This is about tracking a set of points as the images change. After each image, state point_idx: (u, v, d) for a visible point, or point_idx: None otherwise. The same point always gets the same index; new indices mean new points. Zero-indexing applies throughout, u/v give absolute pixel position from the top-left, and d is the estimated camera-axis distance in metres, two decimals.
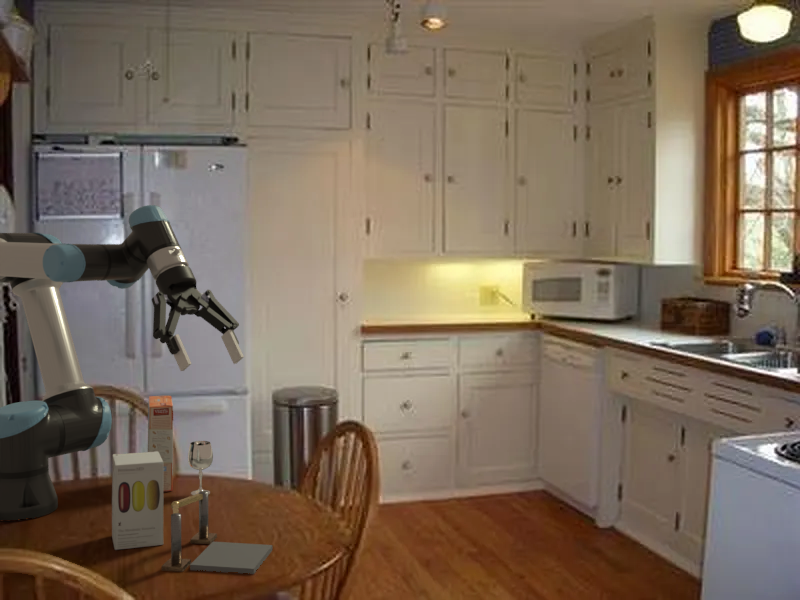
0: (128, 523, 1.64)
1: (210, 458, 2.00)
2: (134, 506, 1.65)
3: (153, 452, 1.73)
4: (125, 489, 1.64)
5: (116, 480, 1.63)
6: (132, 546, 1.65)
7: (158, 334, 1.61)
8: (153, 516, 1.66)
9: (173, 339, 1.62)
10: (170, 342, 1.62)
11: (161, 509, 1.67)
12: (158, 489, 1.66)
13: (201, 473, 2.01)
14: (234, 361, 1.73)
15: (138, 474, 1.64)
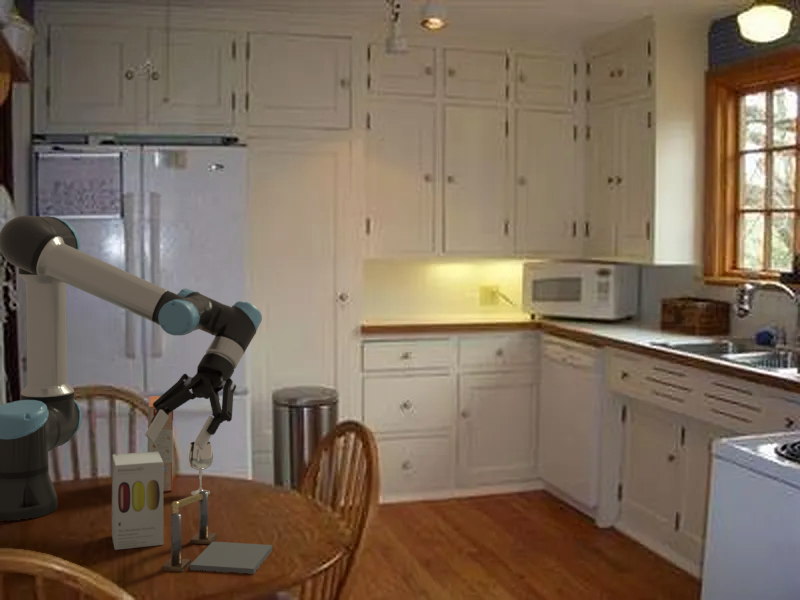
0: (128, 523, 1.64)
1: (210, 458, 2.00)
2: (134, 506, 1.65)
3: (153, 452, 1.73)
4: (125, 489, 1.64)
5: (116, 480, 1.63)
6: (132, 546, 1.65)
7: (228, 418, 1.77)
8: (153, 516, 1.66)
9: None
10: (217, 426, 1.77)
11: (161, 509, 1.67)
12: (158, 489, 1.66)
13: (201, 473, 2.01)
14: (149, 435, 1.80)
15: (138, 474, 1.64)
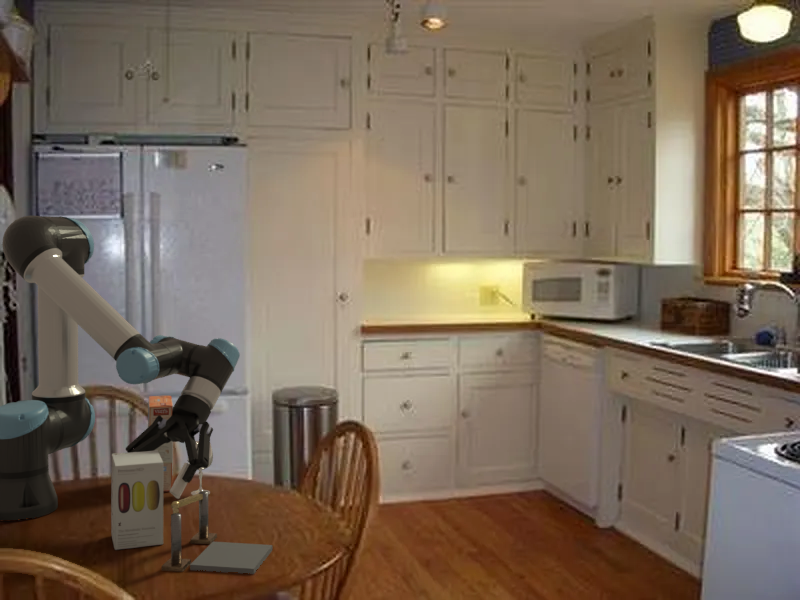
0: (128, 523, 1.64)
1: (210, 458, 2.00)
2: (134, 506, 1.64)
3: (152, 451, 1.73)
4: (125, 490, 1.63)
5: (116, 481, 1.63)
6: (132, 546, 1.65)
7: (205, 464, 1.70)
8: (153, 516, 1.66)
9: None
10: (194, 473, 1.70)
11: (161, 509, 1.66)
12: (158, 489, 1.66)
13: (201, 473, 2.01)
14: None
15: (138, 474, 1.64)
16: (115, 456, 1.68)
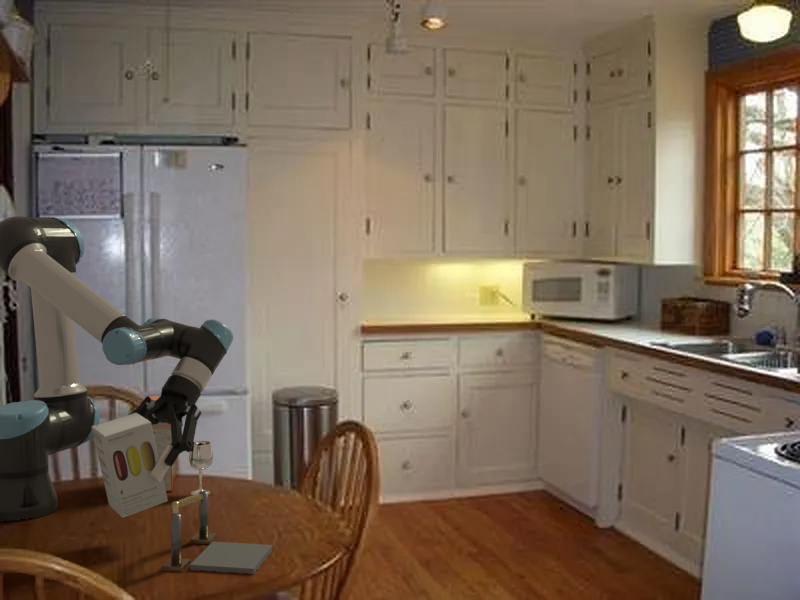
0: (129, 489, 1.62)
1: (210, 458, 2.00)
2: (132, 471, 1.62)
3: (132, 414, 1.69)
4: (119, 458, 1.60)
5: (108, 451, 1.59)
6: (138, 510, 1.63)
7: (188, 448, 1.66)
8: (152, 477, 1.64)
9: None
10: (176, 457, 1.66)
11: None
12: (152, 449, 1.64)
13: (201, 473, 2.01)
14: None
15: (129, 439, 1.61)
16: (97, 427, 1.64)
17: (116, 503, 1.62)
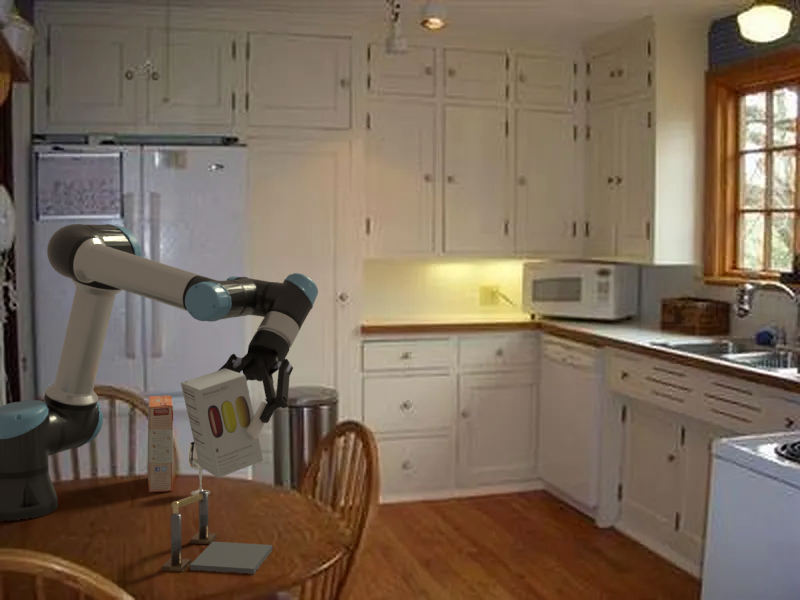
0: (225, 447, 1.52)
1: None
2: (227, 428, 1.52)
3: (222, 370, 1.59)
4: (214, 413, 1.50)
5: (203, 405, 1.49)
6: (234, 470, 1.53)
7: (283, 404, 1.56)
8: (247, 434, 1.54)
9: None
10: (271, 413, 1.56)
11: None
12: (247, 404, 1.53)
13: (201, 473, 2.01)
14: None
15: (224, 393, 1.51)
16: (188, 383, 1.54)
17: (211, 462, 1.52)
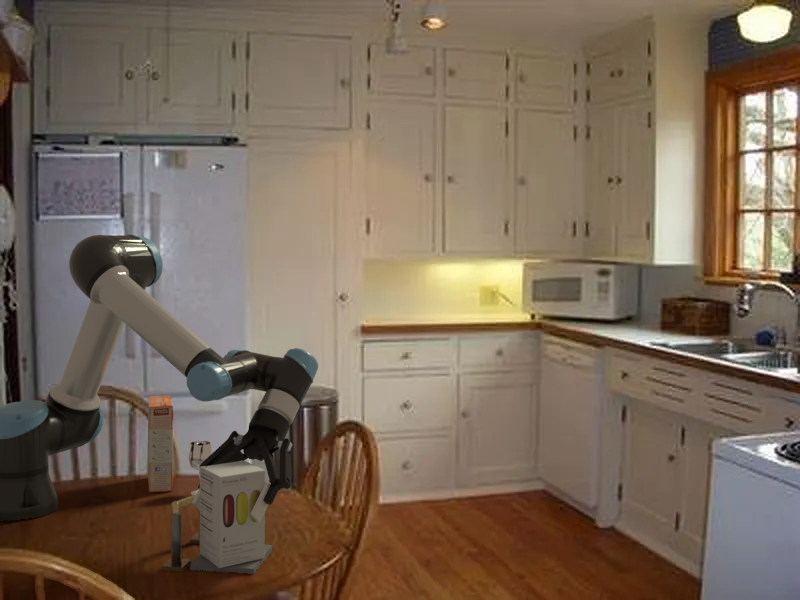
0: (232, 538, 1.54)
1: None
2: (238, 519, 1.54)
3: (240, 461, 1.63)
4: (229, 502, 1.53)
5: (221, 493, 1.52)
6: (236, 562, 1.54)
7: (287, 485, 1.57)
8: (255, 529, 1.56)
9: None
10: (275, 494, 1.57)
11: (263, 520, 1.57)
12: None
13: None
14: (196, 503, 1.60)
15: (242, 484, 1.54)
16: (208, 468, 1.57)
17: (215, 551, 1.54)
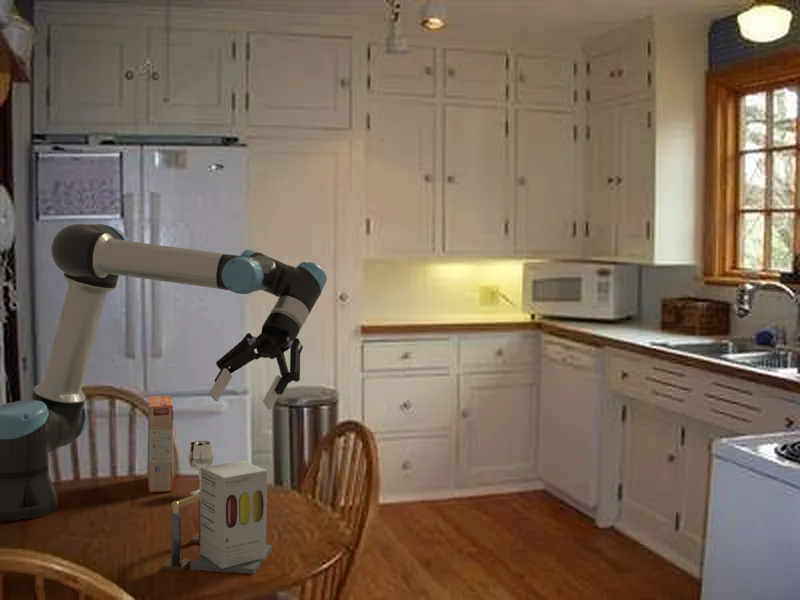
0: (234, 538, 1.54)
1: (210, 458, 2.00)
2: (241, 520, 1.54)
3: (241, 461, 1.63)
4: (232, 503, 1.53)
5: (224, 494, 1.52)
6: (238, 563, 1.55)
7: (296, 378, 1.72)
8: (257, 529, 1.57)
9: None
10: (285, 386, 1.72)
11: (264, 520, 1.58)
12: (262, 499, 1.57)
13: None
14: (213, 393, 1.75)
15: (244, 485, 1.54)
16: (209, 469, 1.57)
17: (217, 552, 1.54)
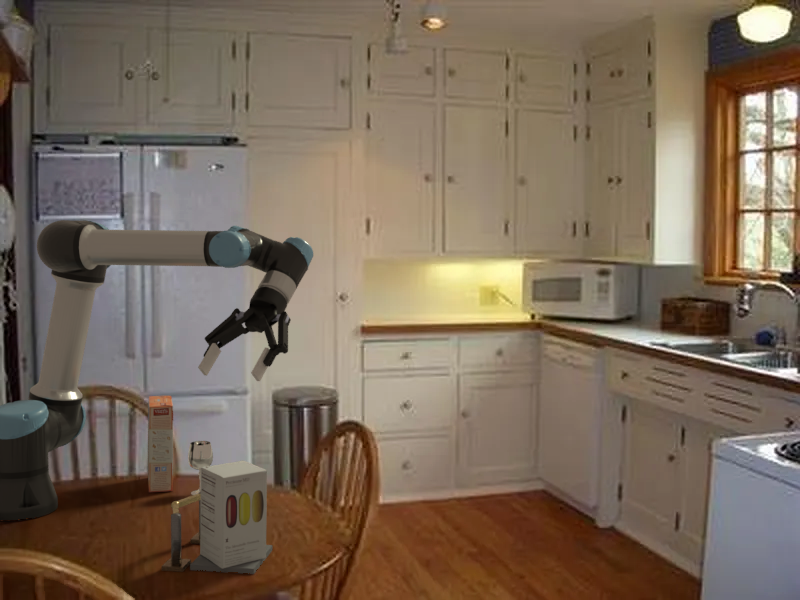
0: (234, 538, 1.54)
1: (210, 458, 2.00)
2: (241, 520, 1.54)
3: (241, 461, 1.63)
4: (232, 503, 1.53)
5: (224, 494, 1.52)
6: (238, 563, 1.55)
7: (285, 349, 1.73)
8: (257, 529, 1.57)
9: None
10: (274, 358, 1.73)
11: (264, 520, 1.58)
12: (262, 499, 1.57)
13: None
14: (202, 367, 1.76)
15: (244, 485, 1.54)
16: (209, 469, 1.57)
17: (217, 552, 1.54)
